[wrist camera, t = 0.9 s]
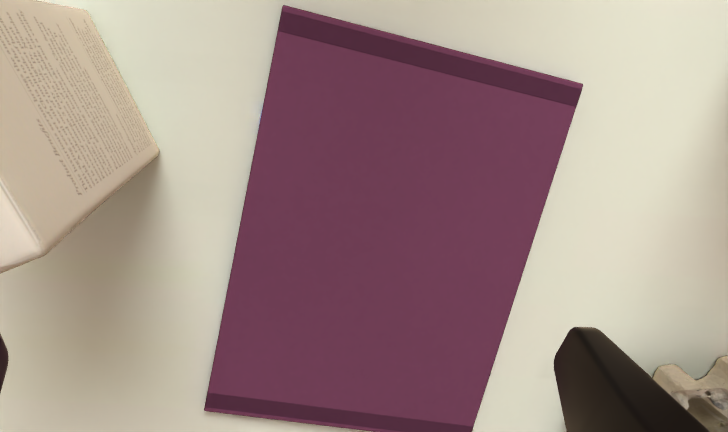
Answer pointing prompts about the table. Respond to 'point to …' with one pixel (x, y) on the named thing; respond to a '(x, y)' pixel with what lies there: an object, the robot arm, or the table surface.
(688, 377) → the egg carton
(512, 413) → the table surface
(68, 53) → the cosmetic box
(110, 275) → the table surface
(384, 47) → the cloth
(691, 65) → the table surface
